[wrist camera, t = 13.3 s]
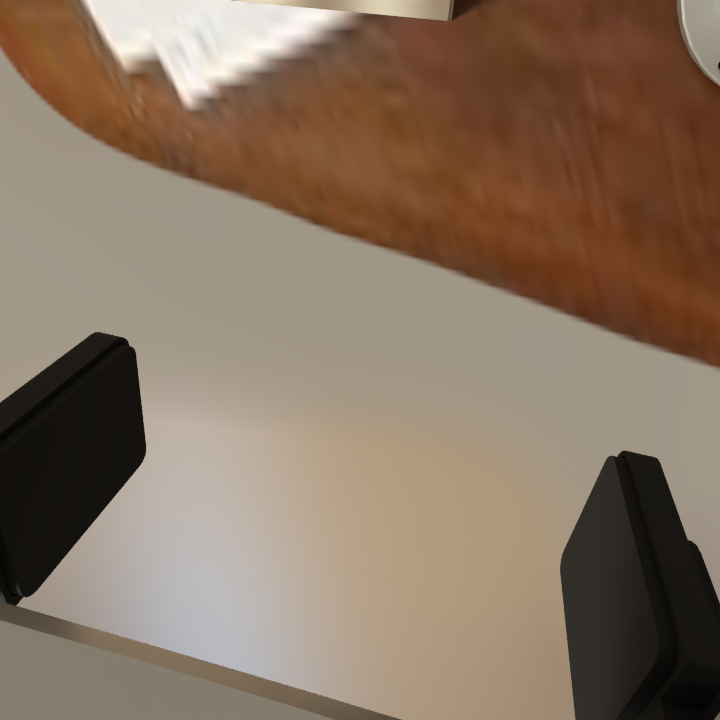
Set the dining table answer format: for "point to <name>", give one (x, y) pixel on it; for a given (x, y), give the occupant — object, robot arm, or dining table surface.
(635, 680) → the robot arm
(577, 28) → the dining table surface
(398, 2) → the cream square frame
